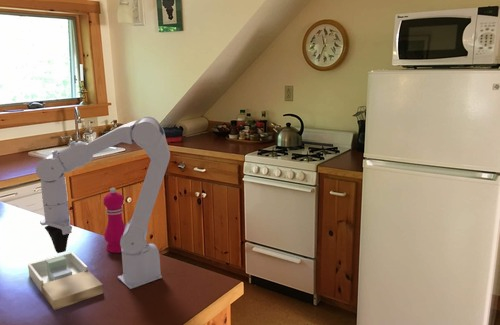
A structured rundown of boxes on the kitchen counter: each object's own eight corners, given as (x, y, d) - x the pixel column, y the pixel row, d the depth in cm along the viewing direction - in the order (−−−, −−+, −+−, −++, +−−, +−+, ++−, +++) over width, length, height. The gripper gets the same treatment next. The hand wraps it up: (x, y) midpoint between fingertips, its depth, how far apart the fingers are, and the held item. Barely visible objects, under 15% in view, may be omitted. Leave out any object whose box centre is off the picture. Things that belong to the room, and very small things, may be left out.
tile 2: (67, 273, 121) (66, 265, 121) (72, 279, 118) (72, 271, 118) (50, 278, 119) (49, 270, 118) (55, 285, 115) (54, 276, 115)
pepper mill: (120, 241, 143) (116, 183, 138) (134, 247, 139) (129, 187, 134) (100, 249, 138) (95, 188, 133) (114, 255, 133) (109, 193, 128)
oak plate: (88, 278, 120) (87, 270, 119) (103, 293, 112) (102, 284, 112) (42, 293, 112) (41, 284, 112) (54, 310, 105) (53, 300, 104)
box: (73, 262, 129) (72, 251, 128) (88, 278, 120) (87, 266, 119) (29, 275, 121) (27, 264, 120) (42, 293, 112) (40, 280, 111)
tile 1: (67, 273, 122) (64, 270, 123) (65, 258, 120) (63, 255, 122) (50, 278, 119) (47, 275, 120) (48, 263, 118) (46, 260, 119)
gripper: (30, 198, 114) (36, 246, 117) (47, 213, 103) (53, 266, 107) (58, 193, 118) (63, 239, 122) (77, 206, 108) (82, 257, 111)
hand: (61, 251), depth 114 cm, fingers closed
